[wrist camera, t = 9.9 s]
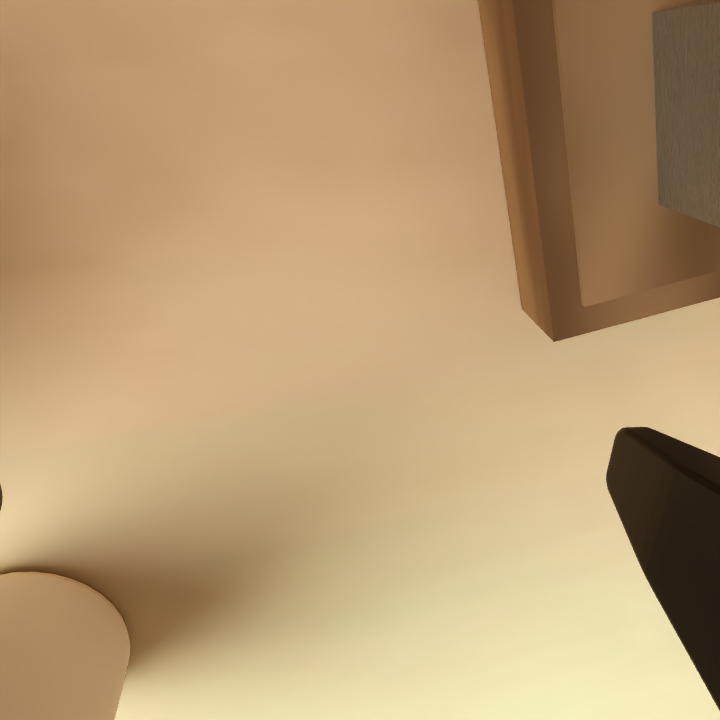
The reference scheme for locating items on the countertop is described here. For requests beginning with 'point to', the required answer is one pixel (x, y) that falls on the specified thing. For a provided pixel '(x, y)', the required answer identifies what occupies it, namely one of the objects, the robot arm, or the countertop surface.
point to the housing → (688, 108)
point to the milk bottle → (59, 649)
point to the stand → (588, 166)
